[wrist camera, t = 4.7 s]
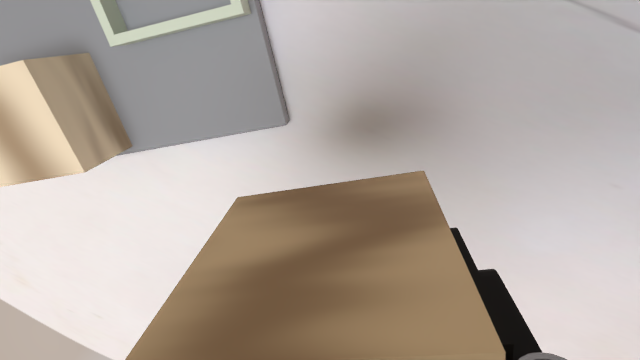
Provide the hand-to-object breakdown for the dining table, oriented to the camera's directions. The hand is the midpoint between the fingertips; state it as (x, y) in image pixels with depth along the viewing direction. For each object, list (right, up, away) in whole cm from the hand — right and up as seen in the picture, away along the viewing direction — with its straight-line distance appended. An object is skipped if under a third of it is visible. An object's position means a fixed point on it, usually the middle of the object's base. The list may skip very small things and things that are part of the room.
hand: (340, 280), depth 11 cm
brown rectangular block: (-19, +9, +14) cm, 26 cm away
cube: (0, 0, +1) cm, 1 cm away
